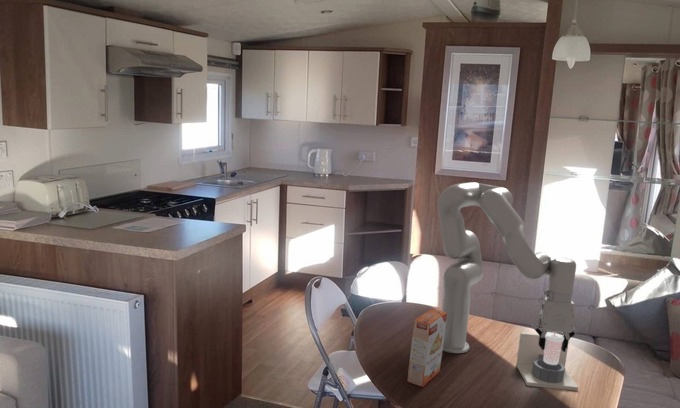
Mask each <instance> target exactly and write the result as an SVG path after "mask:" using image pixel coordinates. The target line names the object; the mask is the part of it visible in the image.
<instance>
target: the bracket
mask: <svg viewBox="0 0 680 408" xmlns="http://www.w3.org/2000/svg"><path fill="white" fill-rule="evenodd" d="M539 336H540V335H539V334H538V333H533V332H532V333H531V332H520V336H519V341H518V349H517V356H516V357H517V358H516V364H515V366H516V367H517V369H518V371H519V373H520V375H521V377H522V378H523V380H524V383H525V384H526V386H528V387H537V388H538V387H539V388H547V389H558V390H565V391H567V390H568V391H576V392H577V391H579V386H578V384H577V383H576V382H575V380H574V379H573V378H572V376H571V375H570V373H569V372H568V370H567V369H566V362H567V355H568V350H569V349H568V348H569V345H568V346H567V348H566V351H565V352H563V351H562V349H561V352H560V357H559V362H558V364H557V365H550V364H547V363H545V362H544V361H543V358H544V350H542V349H541V347H540V346H539ZM569 343H570V340H568V344H569Z"/></svg>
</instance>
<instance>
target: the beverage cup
mask: <svg viewBox="0 0 680 408" xmlns="http://www.w3.org/2000/svg"><path fill="white" fill-rule="evenodd" d="M563 336H564V335H562V334H559V333H558V332H550V331H547V333H546V335H545V338H546V341H545V349H544V358H543V361H544V362H545V363H547V364H550V365H557V364H558V362H559V357H560V352H561V347H562V342H563V341H564V337H563Z"/></svg>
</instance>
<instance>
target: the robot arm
mask: <svg viewBox="0 0 680 408" xmlns="http://www.w3.org/2000/svg"><path fill="white" fill-rule="evenodd" d="M437 199H438V200H437V205H436V206H437V215H438V219H439V225H440V234H441V240H442V241H441V242H442V249H443V252H444V254H445V256H446V257H447V258H449V259H451V260H457V261H456V262H454V263H452V264H450V265H449V266H448V267H447V268H446V269H445V271H444V274H443V299H442V309H441V311H442V312H445V313H447V319H446V327H445V334H444V342H443V350H442V352H446V353H450V354H464V353H467V352H468V351H470V345H469V343H468V342H467V341H466V340H467V335H468V334H467V332H468V323H469V317H470V316H469V315H470V308H471V307H470V306H471V293H470V287H471V286H473V285H475V284H477V283H478V282H480V281H481V279H482V277H483V276H484V266H483V258H482V251H481V245H480V241H479V238H478V237H477V235H476V234H475V233H474V232H473V231H472V230H469V229H466V227H465V220H464V216H463V215H462V212H461V209H462V208H467V207H470V206H471V207H472V206H474V207H479V208H480V209H482V211H483V213H484V214H485V215H486V216H487V218H488V219H489V220H490V222H491V223H492V224H493V227H495V228H496V230H497V231H498V233H499V234H500V236H501V238H502V240H503V244H504V246H505V249H506V253H507V255H508V256H509V258H510V260H511V261H512V262H513V264H514V266H515V267H516V268H517V270H518V271H519V272H520V273H521V274H522V275H523V276H524V277H525V278H527V279H529V280H538V279H540V278H541V279H542V277H545V276H549V277H548V282H547V283H548V285H547V289H546V290H545V291H542V296H545V297H544V299H543V301H542V304H541V308H540V311H539V317H538V318H536V319H535V320H534V321H533V322H531V323H530V326H531V327H532V329H534V331H535V332H536V334H539V335H540V336H539V346H540V347H541V349H542V350H544V349H545V341H546V338H545V335H546V333H548V332H551V333H554V332H555V333H562V334H563V335H562V336H563V337H564V341H563V342H562V347H561V349H562V351H563V352H565V351H566V348H567V346H568V347H569V343H568V340H569V341H570V339H571V338H572V337H574V336H575V334H577V333H579V332H580V331H581V328H580V327H579V326H578V325H577V324H576V322H575V316H576V315H575V312H576V311H575V310H576V309H575V302H574V301H573V300H572V299H573V292H574V284H575V277H576V271H577V270H576V269H577V263H576V261H575V260H574V259H571V258H567V257H562V256H561V257H559V256H556V255H553V254H550V253H548V252H543V251H539V252H535V253H534V252H533V250H532V248H531V247H530V245H529V244H528V242H527V240H526V237H525V222H524V220H523V219H522V218H521V216H520V215H519V213H518V212H517V211H516V210H515V208H514V207H513V204H514V197H513V194H512V192H511V191H510V190H508V188H505V187H503V186H502V187H501V186H496V185H491V184H485V183H480V182H473V181H470V182H469V181H468V182H460V183H455V184H452V185H450V186H448V187H446V188H444V190H443V191H442V192H441V193H440V194H439V197H438V198H437ZM538 325H539V326H540V328H539V327H538Z"/></svg>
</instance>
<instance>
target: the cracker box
mask: <svg viewBox="0 0 680 408" xmlns="http://www.w3.org/2000/svg"><path fill="white" fill-rule="evenodd" d="M446 319H447V313H445V312H442V310H438V309H434V308H431V309H429V310H427V311H426V312H425V313H423V314H421V315H420V316H419V317H417V318H415V319H414V320H413V328H412V336H411V346H410V354H409V355H410V356H409V362H408V363H409V364H408V373H407V380H406V382H407V383H409V384H413V385H415V386H418V387H420V388H424V387H425V386H426V385H427V384H428V383H429V382H431V380H433V379H434V378H435V377H436V376H437V375H438V374H439V373H440V372H441V364H442V357H443V351H442V350H443V342H444V334H445V327H446Z"/></svg>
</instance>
